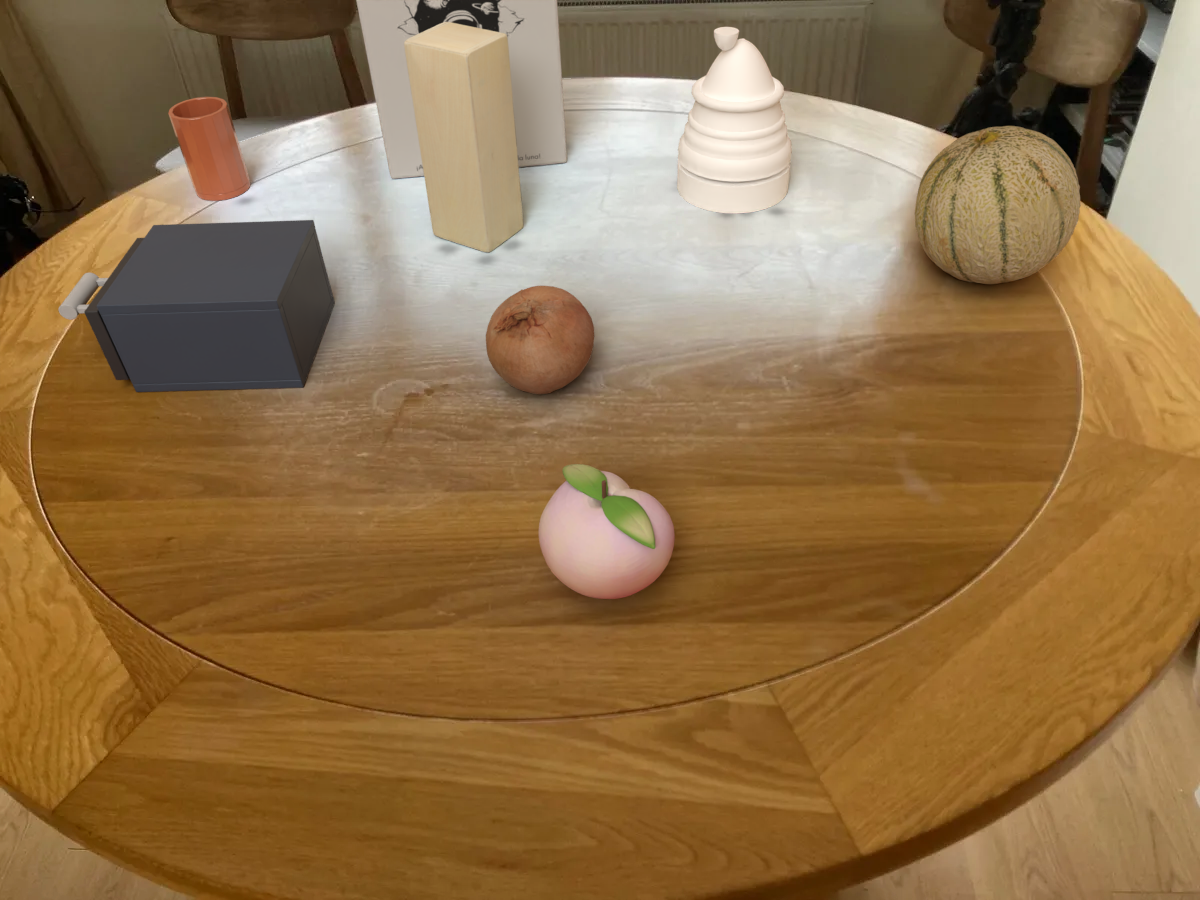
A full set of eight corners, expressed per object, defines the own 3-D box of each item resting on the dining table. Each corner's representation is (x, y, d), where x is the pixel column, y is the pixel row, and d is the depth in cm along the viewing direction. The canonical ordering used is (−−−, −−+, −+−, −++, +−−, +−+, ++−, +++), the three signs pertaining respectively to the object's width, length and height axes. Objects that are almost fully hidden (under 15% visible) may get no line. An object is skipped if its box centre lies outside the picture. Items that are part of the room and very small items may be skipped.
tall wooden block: (530, 224, 107) (512, 30, 93) (490, 254, 103) (464, 54, 89) (473, 208, 110) (448, 18, 96) (432, 236, 106) (399, 41, 92)
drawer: (65, 382, 87) (30, 313, 82) (117, 304, 96) (89, 239, 91) (270, 376, 86) (247, 307, 81) (303, 299, 96) (284, 232, 91)
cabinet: (135, 392, 87) (96, 305, 80) (185, 307, 97) (153, 224, 91) (303, 387, 86) (276, 300, 80) (335, 303, 97) (313, 219, 90)
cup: (185, 193, 116) (156, 112, 109) (227, 172, 120) (202, 92, 113) (219, 205, 113) (192, 123, 107) (261, 184, 117) (238, 103, 110)
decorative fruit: (517, 586, 68) (503, 485, 61) (594, 522, 73) (589, 421, 66) (617, 657, 63) (613, 556, 57) (693, 584, 68) (698, 482, 61)
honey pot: (719, 224, 106) (727, 58, 94) (656, 180, 114) (656, 22, 102) (810, 193, 110) (830, 31, 98) (743, 153, 119) (754, -1, 107)
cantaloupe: (1088, 293, 93) (1141, 146, 83) (960, 327, 90) (999, 177, 80) (992, 224, 104) (1029, 86, 94) (874, 252, 100) (899, 111, 90)
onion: (532, 431, 85) (491, 378, 77) (493, 354, 90) (450, 296, 81) (625, 378, 85) (594, 319, 76) (581, 303, 90) (548, 240, 81)
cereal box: (561, 137, 124) (547, -77, 107) (567, 163, 118) (553, -59, 101) (392, 153, 122) (351, -63, 105) (390, 180, 117) (347, -44, 100)
